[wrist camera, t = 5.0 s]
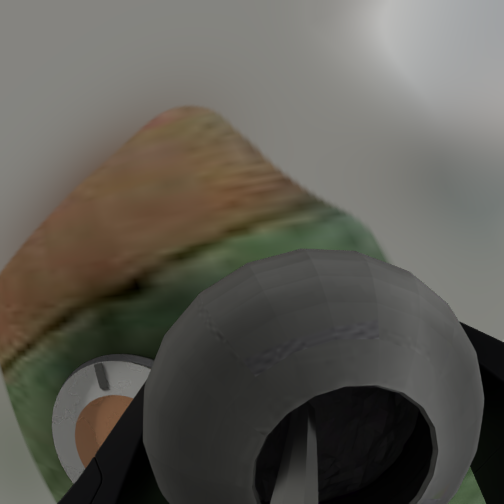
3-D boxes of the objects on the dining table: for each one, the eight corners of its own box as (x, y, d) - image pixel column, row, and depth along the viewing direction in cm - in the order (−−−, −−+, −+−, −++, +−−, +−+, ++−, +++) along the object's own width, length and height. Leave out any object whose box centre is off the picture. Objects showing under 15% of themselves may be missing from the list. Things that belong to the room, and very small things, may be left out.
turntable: (248, 513, 17) (247, 519, 16) (93, 521, 17) (88, 525, 16) (187, 340, 21) (184, 340, 20) (40, 375, 21) (33, 375, 20)
